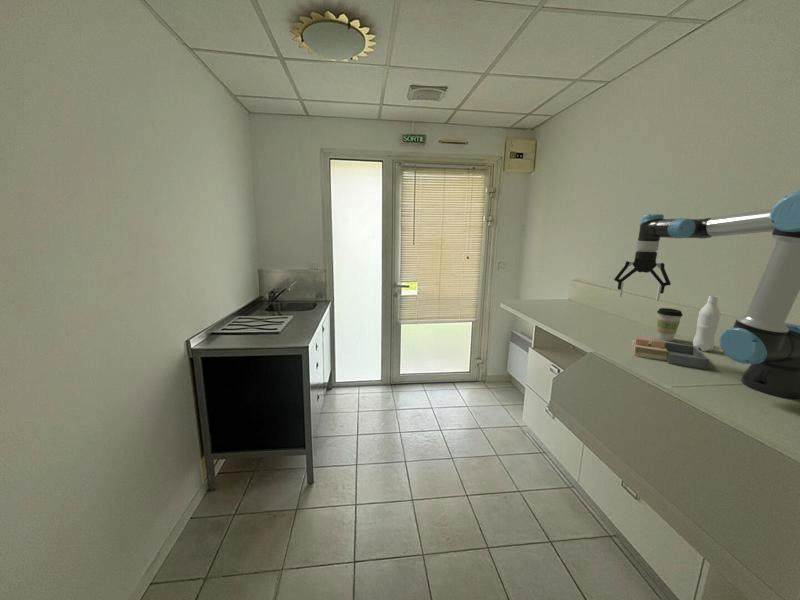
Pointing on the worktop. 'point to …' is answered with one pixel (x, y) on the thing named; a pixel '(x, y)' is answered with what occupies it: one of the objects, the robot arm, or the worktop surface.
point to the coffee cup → (667, 323)
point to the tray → (686, 355)
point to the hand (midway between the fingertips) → (638, 298)
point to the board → (649, 351)
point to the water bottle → (707, 325)
